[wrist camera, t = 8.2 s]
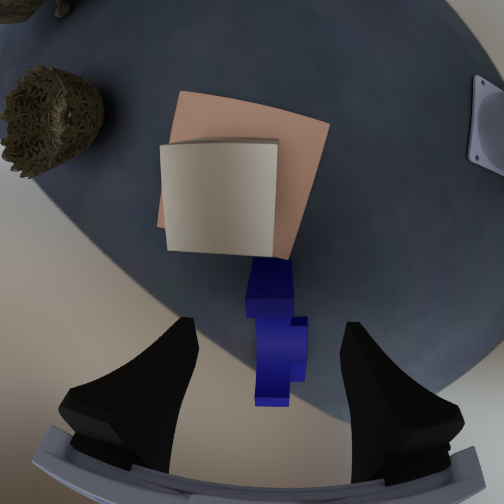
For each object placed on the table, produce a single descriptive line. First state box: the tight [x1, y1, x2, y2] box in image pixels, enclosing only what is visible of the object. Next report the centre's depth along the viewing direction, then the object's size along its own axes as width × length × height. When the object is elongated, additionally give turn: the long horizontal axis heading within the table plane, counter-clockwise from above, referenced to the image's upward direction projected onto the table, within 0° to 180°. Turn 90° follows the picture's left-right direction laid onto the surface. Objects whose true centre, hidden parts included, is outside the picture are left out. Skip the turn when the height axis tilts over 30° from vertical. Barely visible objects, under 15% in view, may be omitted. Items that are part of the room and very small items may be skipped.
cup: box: [0, 65, 108, 179], centre depth 14 cm, size 8×7×8 cm
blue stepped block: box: [245, 257, 308, 407], centre depth 22 cm, size 12×4×6 cm, turn 3°
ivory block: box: [160, 137, 278, 257], centre depth 13 cm, size 4×4×6 cm
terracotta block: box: [157, 91, 330, 260], centre depth 18 cm, size 9×9×4 cm
